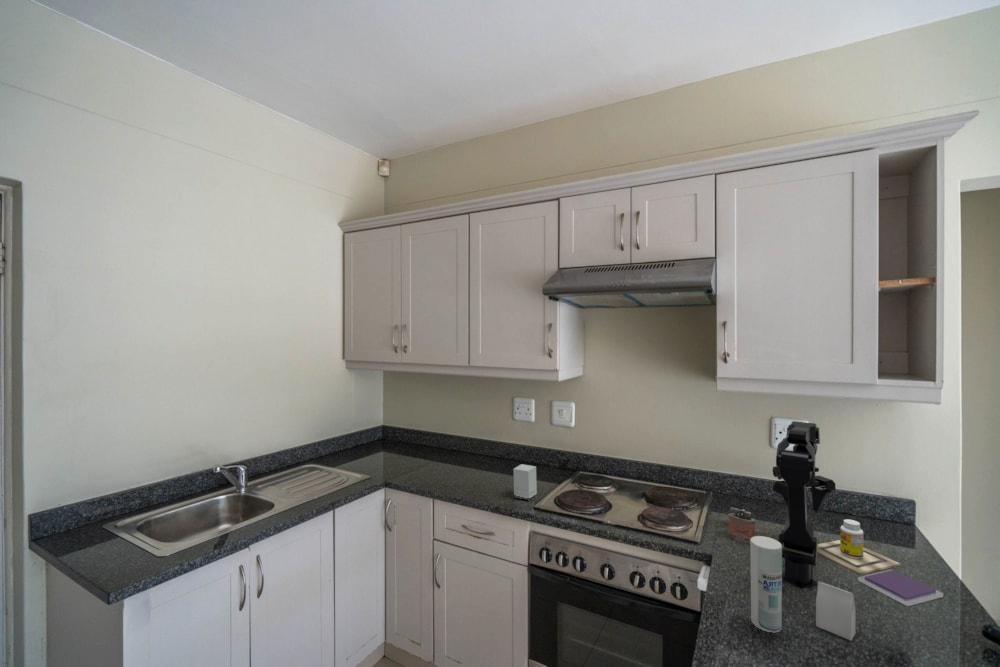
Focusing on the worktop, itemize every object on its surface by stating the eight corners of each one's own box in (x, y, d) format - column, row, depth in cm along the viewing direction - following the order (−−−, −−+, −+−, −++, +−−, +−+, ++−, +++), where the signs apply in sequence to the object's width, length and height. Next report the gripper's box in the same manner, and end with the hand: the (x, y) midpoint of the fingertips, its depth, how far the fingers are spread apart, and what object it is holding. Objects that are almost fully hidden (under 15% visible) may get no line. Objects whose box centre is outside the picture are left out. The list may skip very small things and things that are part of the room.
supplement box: (537, 496, 190) (536, 466, 190) (528, 502, 184) (528, 471, 184) (522, 492, 194) (521, 463, 194) (513, 498, 188) (512, 468, 188)
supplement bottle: (837, 549, 141) (837, 517, 141) (858, 552, 139) (858, 519, 139) (844, 558, 136) (844, 524, 136) (866, 561, 134) (866, 526, 134)
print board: (859, 574, 128) (860, 572, 128) (807, 548, 144) (807, 545, 144) (900, 565, 133) (900, 563, 133) (845, 540, 148) (845, 538, 148)
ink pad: (907, 606, 114) (907, 600, 114) (858, 580, 125) (858, 575, 125) (943, 597, 117) (943, 591, 117) (891, 572, 129) (891, 567, 129)
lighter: (756, 541, 148) (756, 511, 148) (753, 545, 146) (753, 514, 146) (730, 533, 154) (730, 504, 154) (727, 537, 151) (726, 507, 151)
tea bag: (851, 641, 102) (851, 597, 102) (815, 626, 107) (815, 584, 107) (855, 633, 104) (855, 590, 104) (820, 619, 110) (820, 578, 109)
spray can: (770, 615, 111) (770, 535, 111) (788, 634, 104) (788, 548, 104) (744, 616, 111) (744, 536, 110) (761, 635, 104) (760, 549, 104)
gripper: (803, 453, 149) (803, 499, 149) (757, 458, 144) (758, 507, 144) (836, 462, 138) (836, 513, 139) (789, 469, 133) (789, 521, 133)
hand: (804, 513), depth 139 cm, fingers open, 9 cm apart
